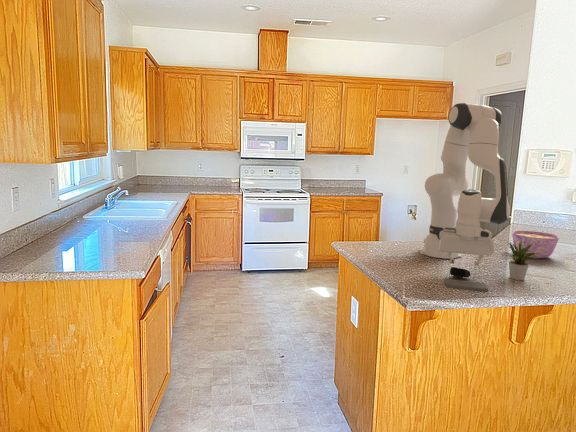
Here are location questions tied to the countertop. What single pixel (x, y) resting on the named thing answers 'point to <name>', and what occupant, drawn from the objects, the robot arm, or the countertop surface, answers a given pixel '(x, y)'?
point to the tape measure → (459, 272)
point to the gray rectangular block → (466, 285)
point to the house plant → (519, 261)
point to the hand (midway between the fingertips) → (464, 264)
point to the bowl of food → (536, 242)
